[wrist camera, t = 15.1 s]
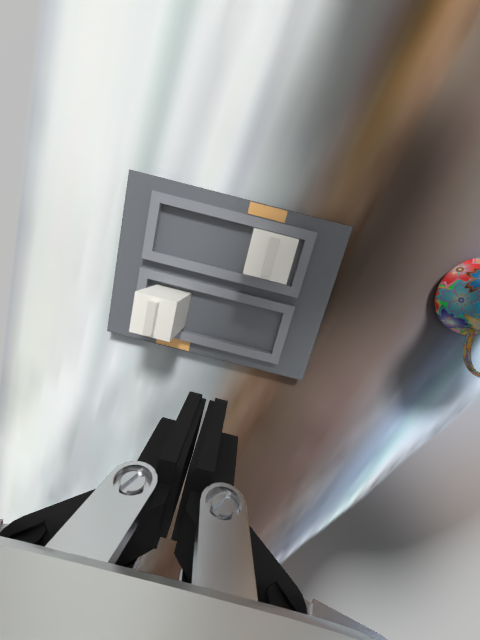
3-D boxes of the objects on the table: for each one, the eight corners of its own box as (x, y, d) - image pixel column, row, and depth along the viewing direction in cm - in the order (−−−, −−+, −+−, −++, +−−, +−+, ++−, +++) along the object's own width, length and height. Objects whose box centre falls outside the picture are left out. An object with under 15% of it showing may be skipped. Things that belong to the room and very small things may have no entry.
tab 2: (254, 232, 30) (254, 226, 23) (290, 242, 30) (300, 238, 23) (245, 269, 31) (242, 274, 24) (280, 278, 31) (287, 285, 24)
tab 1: (157, 284, 31) (131, 292, 25) (191, 293, 31) (174, 303, 25) (151, 317, 32) (125, 334, 26) (184, 326, 32) (166, 344, 26)
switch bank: (135, 173, 30) (125, 167, 28) (348, 228, 30) (355, 226, 28) (113, 327, 35) (103, 332, 32) (300, 375, 35) (303, 383, 33)
